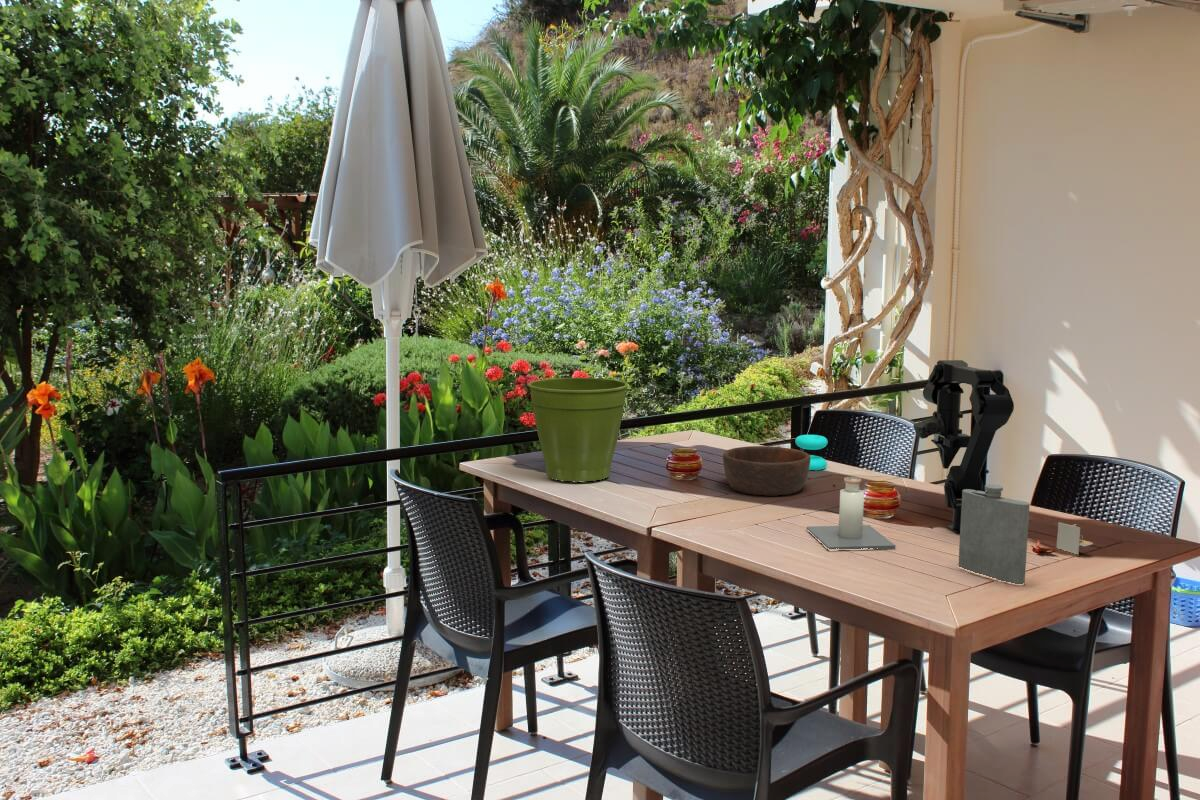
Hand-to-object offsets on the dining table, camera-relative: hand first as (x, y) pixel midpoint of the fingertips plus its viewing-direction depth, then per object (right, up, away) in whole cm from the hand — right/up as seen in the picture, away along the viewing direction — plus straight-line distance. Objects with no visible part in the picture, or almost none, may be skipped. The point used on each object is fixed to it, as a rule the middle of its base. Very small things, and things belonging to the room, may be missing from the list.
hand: (945, 468), depth 279 cm
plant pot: (-96, -6, +48) cm, 107 cm away
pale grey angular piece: (+19, -18, -30) cm, 40 cm away
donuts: (-23, -4, +61) cm, 66 cm away
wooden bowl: (-41, -8, +34) cm, 54 cm away
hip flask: (-5, -21, -46) cm, 51 cm away
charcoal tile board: (-29, -16, -19) cm, 38 cm away
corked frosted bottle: (-29, -15, -19) cm, 38 cm away
